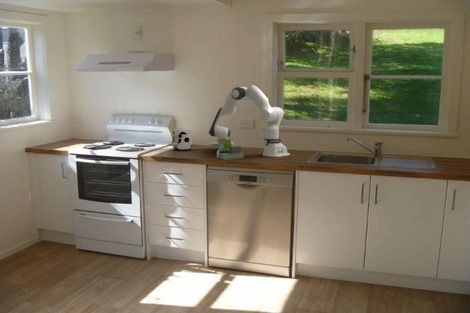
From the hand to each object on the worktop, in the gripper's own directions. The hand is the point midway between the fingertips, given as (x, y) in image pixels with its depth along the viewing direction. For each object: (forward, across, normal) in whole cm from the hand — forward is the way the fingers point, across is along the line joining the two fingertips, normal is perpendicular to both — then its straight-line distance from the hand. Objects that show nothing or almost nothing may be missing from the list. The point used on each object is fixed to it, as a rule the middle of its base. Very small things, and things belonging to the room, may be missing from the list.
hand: (222, 146), depth 374 cm
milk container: (-25, -34, +7) cm, 43 cm away
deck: (+18, +5, +6) cm, 19 cm away
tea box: (+7, +2, +7) cm, 10 cm away
